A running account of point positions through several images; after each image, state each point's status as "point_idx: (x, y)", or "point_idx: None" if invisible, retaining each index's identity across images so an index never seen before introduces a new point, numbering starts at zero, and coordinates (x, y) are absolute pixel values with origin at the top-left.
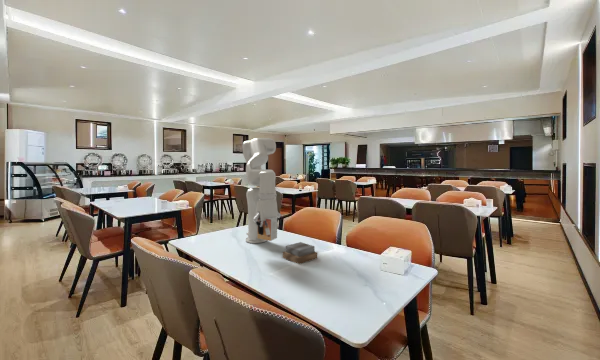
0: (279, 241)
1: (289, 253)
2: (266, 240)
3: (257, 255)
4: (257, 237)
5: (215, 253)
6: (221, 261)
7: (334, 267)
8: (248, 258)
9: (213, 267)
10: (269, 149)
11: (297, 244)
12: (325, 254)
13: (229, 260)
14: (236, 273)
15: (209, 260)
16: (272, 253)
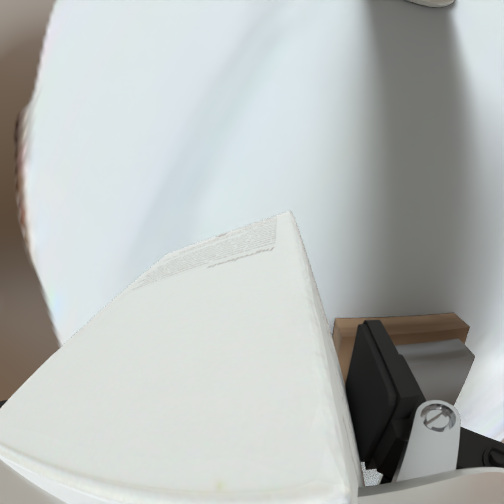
0: (495, 68)
1: (344, 380)
2: (445, 5)
3: (248, 169)
4: (163, 257)
5: (102, 15)
6: (60, 142)
7: (367, 474)
8: (172, 183)
9: (22, 198)
10: None
11: (427, 385)
12: (474, 385)
13: (86, 150)
14: (63, 319)
15: (40, 101)
16: (350, 206)
